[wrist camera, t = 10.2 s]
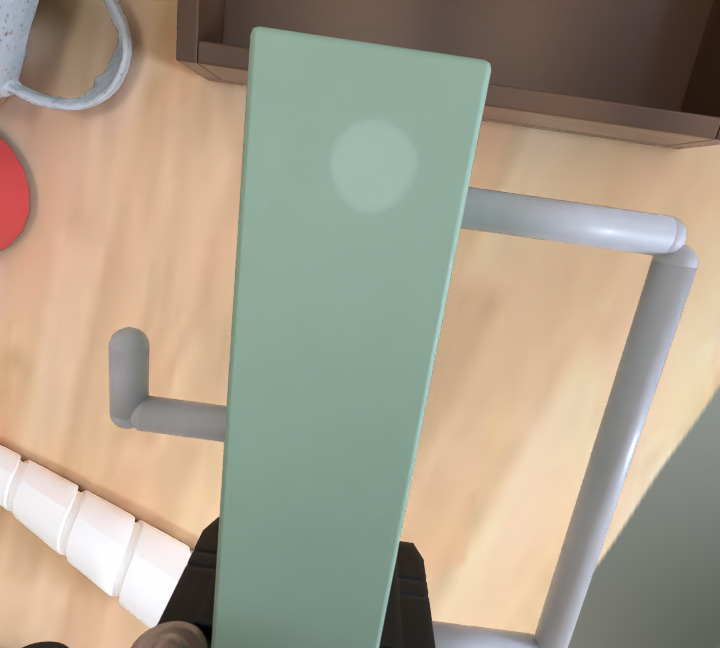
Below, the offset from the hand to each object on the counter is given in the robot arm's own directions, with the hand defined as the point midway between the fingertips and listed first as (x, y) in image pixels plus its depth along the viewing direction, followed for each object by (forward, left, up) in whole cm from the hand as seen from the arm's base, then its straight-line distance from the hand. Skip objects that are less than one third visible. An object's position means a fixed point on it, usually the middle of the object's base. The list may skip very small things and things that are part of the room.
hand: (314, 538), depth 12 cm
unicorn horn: (+13, +12, -14) cm, 22 cm away
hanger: (0, -3, 0) cm, 3 cm away
